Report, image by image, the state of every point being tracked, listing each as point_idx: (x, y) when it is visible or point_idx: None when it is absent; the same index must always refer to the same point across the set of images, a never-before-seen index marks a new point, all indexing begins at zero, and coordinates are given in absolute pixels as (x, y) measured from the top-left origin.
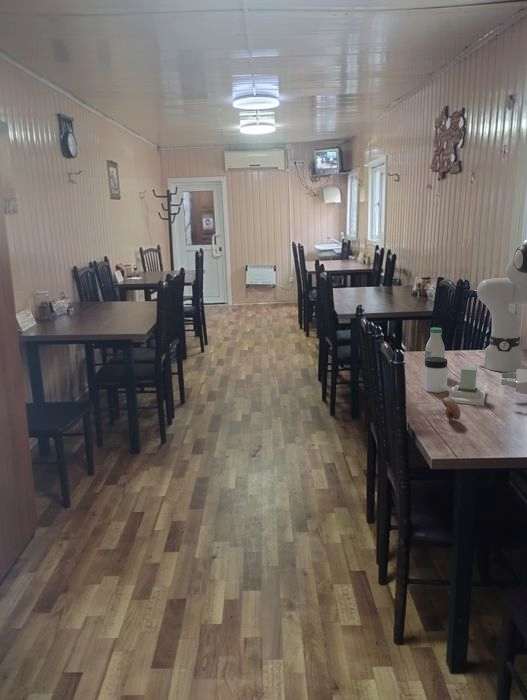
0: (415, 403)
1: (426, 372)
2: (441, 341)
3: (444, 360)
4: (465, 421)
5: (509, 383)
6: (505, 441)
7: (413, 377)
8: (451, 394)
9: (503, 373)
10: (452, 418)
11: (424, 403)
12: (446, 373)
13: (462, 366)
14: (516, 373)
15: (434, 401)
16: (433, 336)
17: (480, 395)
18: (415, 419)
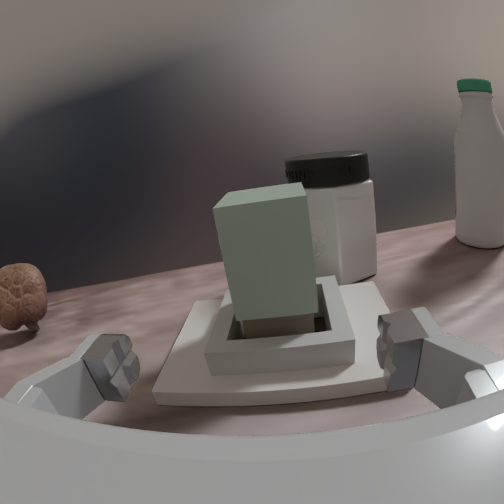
0: (175, 274)
1: None
2: (483, 121)
3: (318, 157)
4: (19, 354)
5: (53, 390)
6: None
7: (423, 228)
8: None
9: (386, 316)
10: (26, 326)
11: (176, 283)
12: (328, 215)
13: (288, 184)
14: (393, 420)
15: (199, 292)
16: (462, 104)
17: (281, 373)
18: (66, 292)
